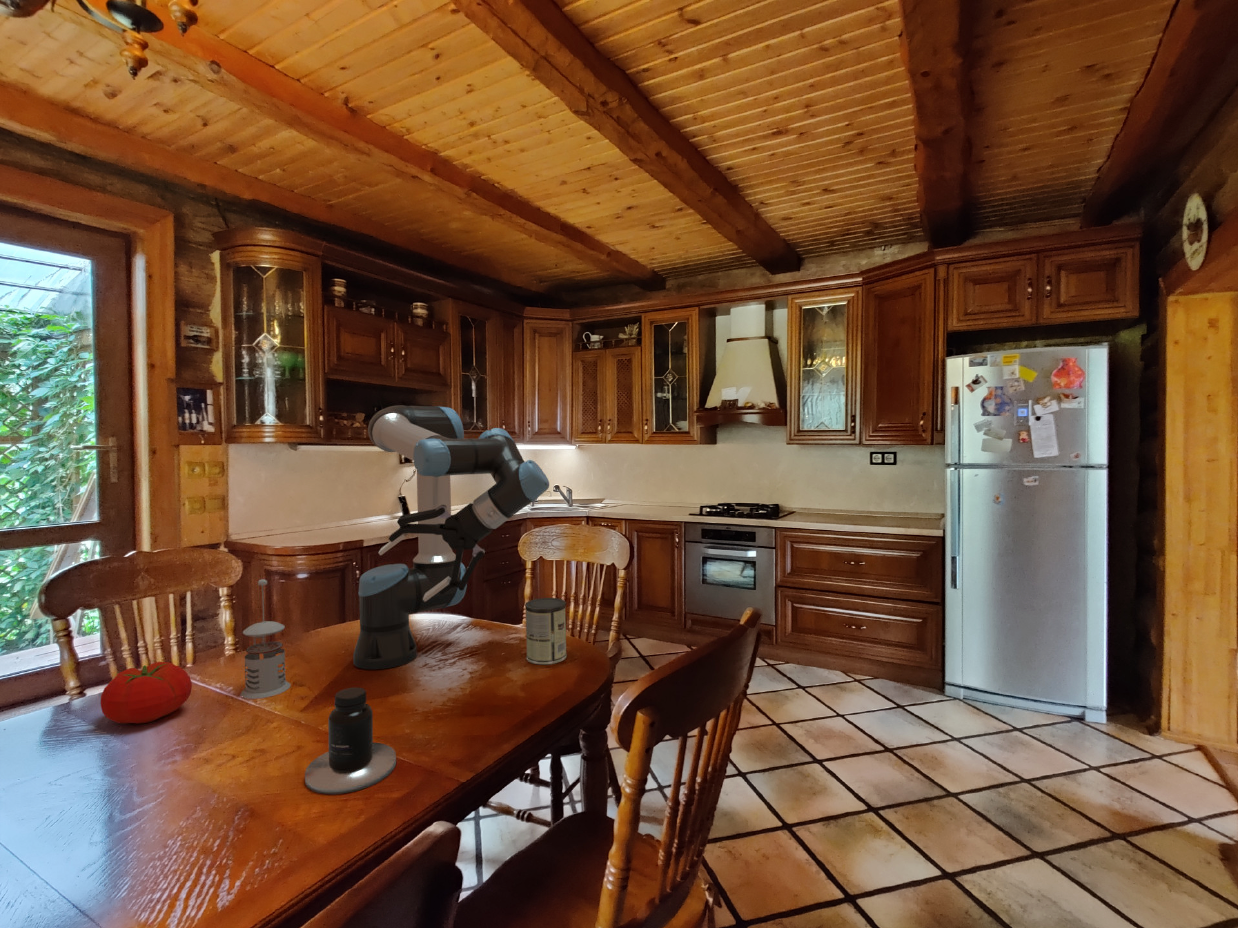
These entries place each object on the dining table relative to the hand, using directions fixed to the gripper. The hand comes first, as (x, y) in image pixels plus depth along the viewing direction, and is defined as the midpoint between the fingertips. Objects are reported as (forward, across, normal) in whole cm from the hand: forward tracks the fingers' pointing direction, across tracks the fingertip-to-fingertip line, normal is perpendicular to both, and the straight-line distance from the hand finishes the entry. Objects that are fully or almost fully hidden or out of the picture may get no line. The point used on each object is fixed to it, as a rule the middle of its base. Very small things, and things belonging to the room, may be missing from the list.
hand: (403, 575), depth 127 cm
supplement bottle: (+14, +14, -31) cm, 37 cm away
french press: (+44, +3, +6) cm, 45 cm away
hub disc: (+15, +15, -32) cm, 38 cm away
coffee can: (-5, +43, +16) cm, 46 cm away
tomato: (+57, -9, -6) cm, 58 cm away
